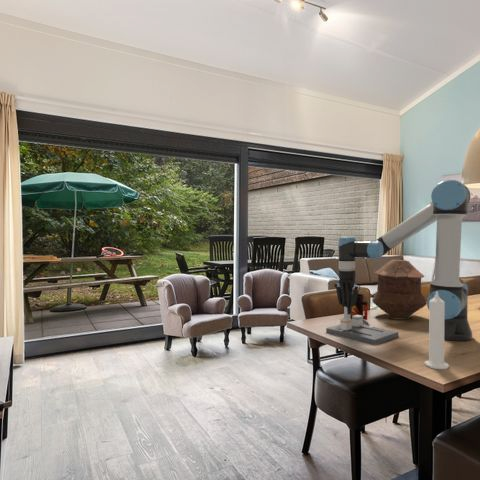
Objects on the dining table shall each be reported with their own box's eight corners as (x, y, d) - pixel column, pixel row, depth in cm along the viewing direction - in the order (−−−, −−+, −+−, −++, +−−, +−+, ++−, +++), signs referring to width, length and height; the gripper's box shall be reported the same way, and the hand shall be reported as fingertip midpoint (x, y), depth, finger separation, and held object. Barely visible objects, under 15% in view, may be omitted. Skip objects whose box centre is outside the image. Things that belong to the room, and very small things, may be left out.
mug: (366, 322, 187) (366, 298, 187) (340, 318, 196) (340, 295, 196) (374, 318, 194) (374, 295, 194) (349, 315, 203) (349, 292, 203)
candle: (440, 361, 130) (441, 289, 130) (453, 369, 123) (453, 292, 123) (420, 362, 130) (421, 289, 130) (431, 369, 123) (432, 293, 122)
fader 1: (351, 328, 166) (351, 318, 166) (346, 330, 163) (346, 320, 163) (345, 327, 168) (345, 317, 168) (340, 329, 166) (340, 319, 166)
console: (398, 336, 161) (398, 331, 161) (374, 344, 150) (374, 339, 150) (350, 326, 180) (350, 321, 180) (326, 332, 169) (326, 327, 169)
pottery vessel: (363, 316, 199) (363, 259, 198) (387, 309, 216) (387, 257, 215) (412, 325, 180) (412, 262, 179) (434, 317, 197) (434, 259, 196)
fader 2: (363, 325, 172) (363, 315, 172) (357, 326, 169) (357, 317, 169) (357, 324, 174) (357, 314, 174) (352, 325, 172) (352, 315, 172)
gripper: (364, 270, 173) (364, 321, 173) (340, 268, 183) (340, 317, 184) (354, 271, 168) (354, 324, 169) (330, 269, 178) (330, 319, 179)
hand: (347, 320), depth 176 cm, fingers closed
